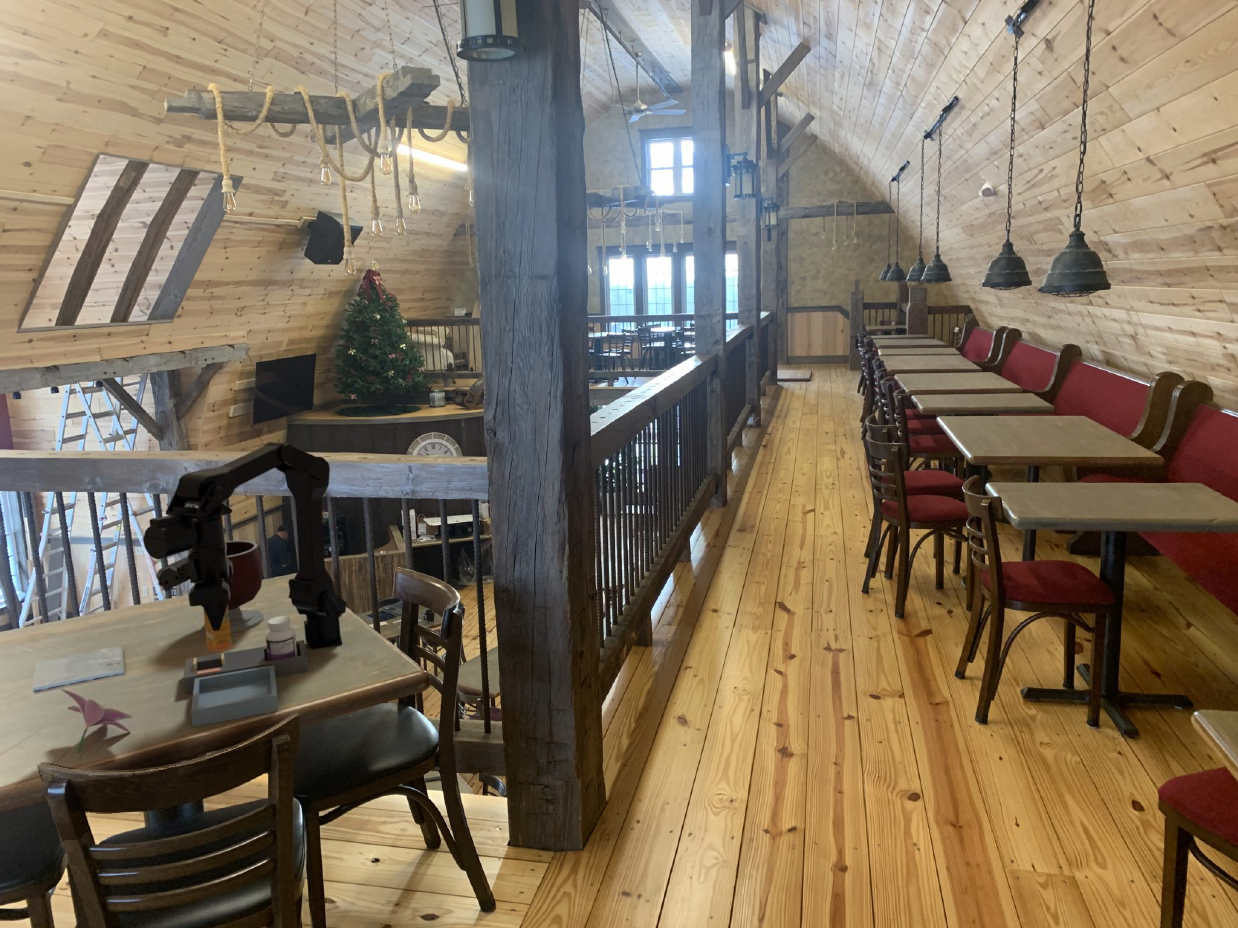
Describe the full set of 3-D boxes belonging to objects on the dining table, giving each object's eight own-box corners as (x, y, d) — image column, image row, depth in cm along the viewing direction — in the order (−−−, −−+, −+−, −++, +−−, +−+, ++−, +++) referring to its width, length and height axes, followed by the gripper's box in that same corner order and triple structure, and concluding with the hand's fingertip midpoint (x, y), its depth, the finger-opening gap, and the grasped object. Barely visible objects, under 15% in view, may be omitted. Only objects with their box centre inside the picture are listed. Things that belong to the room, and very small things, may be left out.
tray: (275, 679, 168) (274, 664, 168) (278, 710, 156) (276, 694, 156) (196, 693, 163) (194, 678, 163) (193, 726, 151) (191, 710, 150)
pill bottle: (273, 661, 177) (268, 615, 175) (301, 660, 177) (296, 614, 175) (265, 673, 171) (260, 625, 169) (294, 671, 172) (289, 624, 170)
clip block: (305, 653, 180) (303, 634, 179) (308, 671, 172) (306, 651, 171) (187, 673, 172) (185, 653, 171) (185, 693, 164) (182, 672, 163)
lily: (137, 754, 145) (150, 694, 147) (56, 752, 137) (70, 688, 140) (115, 752, 153) (127, 694, 156) (36, 749, 145) (51, 689, 148)
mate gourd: (279, 620, 198) (270, 534, 194) (218, 639, 188) (207, 549, 184) (245, 605, 208) (236, 522, 204) (185, 622, 198) (174, 536, 194)
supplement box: (214, 653, 159) (208, 600, 157) (206, 648, 161) (200, 595, 159) (233, 647, 161) (227, 595, 160) (225, 642, 164) (219, 591, 162)
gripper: (162, 535, 163) (172, 615, 166) (150, 563, 146) (161, 652, 149) (228, 528, 167) (237, 606, 170) (223, 555, 150) (233, 642, 153)
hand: (217, 626), depth 161 cm, fingers closed on supplement box, 4 cm apart
